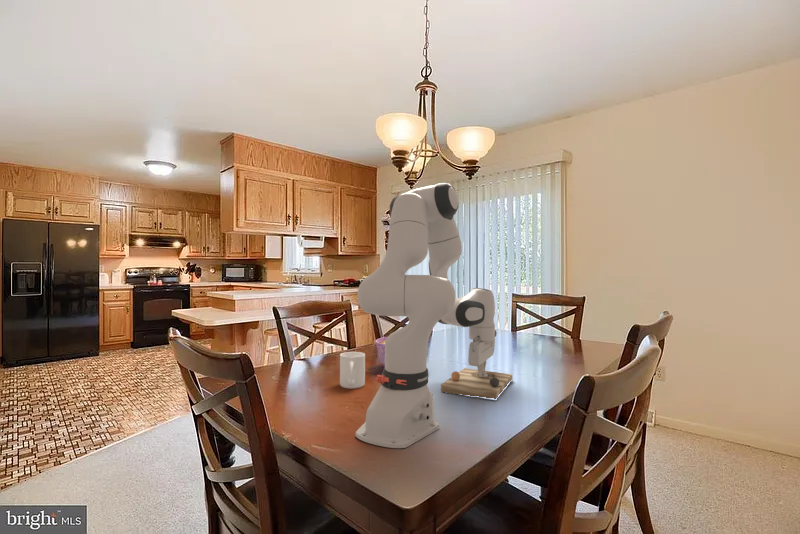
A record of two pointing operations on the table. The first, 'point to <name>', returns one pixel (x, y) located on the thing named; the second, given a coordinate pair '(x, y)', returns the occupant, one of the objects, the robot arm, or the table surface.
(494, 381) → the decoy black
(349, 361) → the mug
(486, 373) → the ball
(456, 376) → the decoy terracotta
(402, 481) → the table surface
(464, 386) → the board
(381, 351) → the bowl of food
